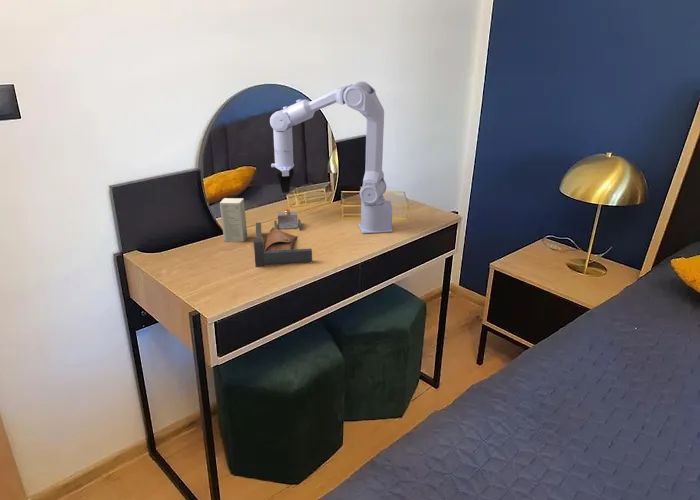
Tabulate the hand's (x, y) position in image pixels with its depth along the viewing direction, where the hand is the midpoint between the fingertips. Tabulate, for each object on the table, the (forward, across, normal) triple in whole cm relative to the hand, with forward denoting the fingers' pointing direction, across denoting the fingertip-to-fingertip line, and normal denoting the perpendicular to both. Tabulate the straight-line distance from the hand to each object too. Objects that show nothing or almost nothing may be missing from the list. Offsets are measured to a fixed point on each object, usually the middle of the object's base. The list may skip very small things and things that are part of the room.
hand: (285, 192), depth 181 cm
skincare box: (+10, +14, -16) cm, 23 cm away
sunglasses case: (+10, +23, -3) cm, 25 cm away
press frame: (+9, +19, -3) cm, 21 cm away
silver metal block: (+9, +6, 0) cm, 11 cm away
